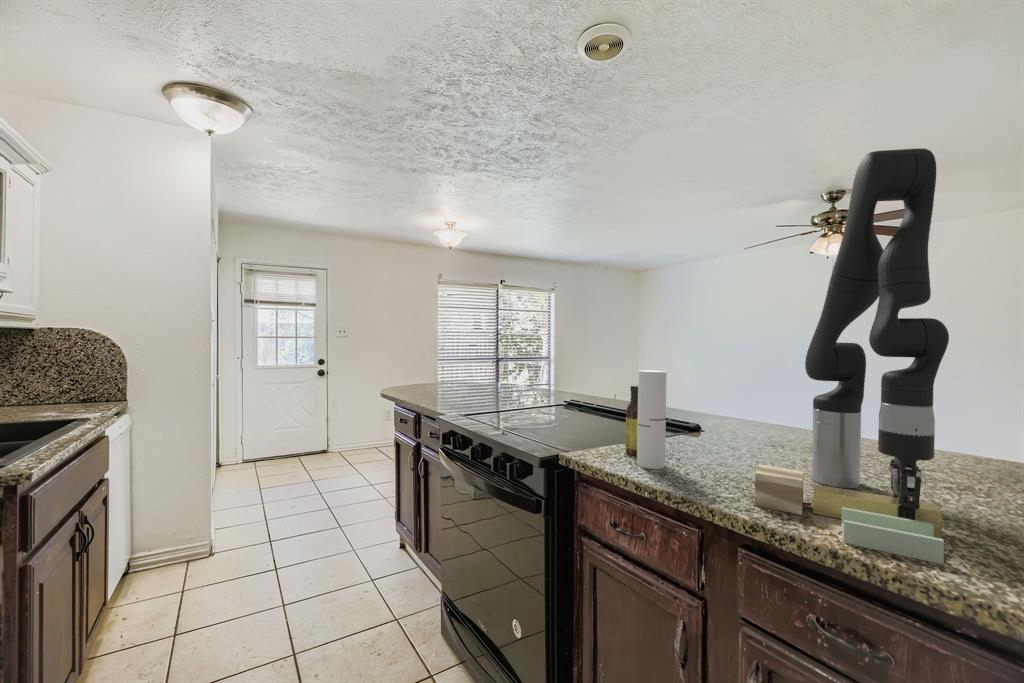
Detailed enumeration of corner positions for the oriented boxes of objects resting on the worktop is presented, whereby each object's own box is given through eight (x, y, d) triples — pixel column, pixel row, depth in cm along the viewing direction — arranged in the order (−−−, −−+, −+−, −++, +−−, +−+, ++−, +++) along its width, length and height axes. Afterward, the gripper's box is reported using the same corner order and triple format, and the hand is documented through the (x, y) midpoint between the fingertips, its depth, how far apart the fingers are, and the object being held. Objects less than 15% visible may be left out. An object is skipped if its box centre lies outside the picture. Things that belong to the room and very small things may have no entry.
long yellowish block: (813, 506, 89) (813, 484, 89) (935, 529, 79) (936, 504, 79) (813, 513, 85) (813, 490, 85) (941, 538, 75) (942, 512, 75)
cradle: (841, 526, 80) (841, 507, 80) (932, 544, 73) (932, 523, 73) (843, 542, 73) (844, 521, 73) (943, 564, 66) (944, 541, 66)
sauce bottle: (643, 458, 125) (645, 387, 125) (622, 454, 128) (623, 386, 128) (650, 453, 130) (651, 385, 130) (629, 450, 133) (630, 384, 133)
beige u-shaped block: (758, 494, 96) (759, 464, 96) (802, 502, 91) (803, 470, 91) (754, 505, 89) (755, 473, 89) (801, 514, 85) (802, 480, 85)
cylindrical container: (666, 469, 113) (668, 372, 113) (638, 467, 115) (639, 371, 115) (663, 462, 120) (664, 370, 120) (635, 460, 122) (637, 369, 122)
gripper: (943, 439, 71) (941, 544, 71) (926, 425, 83) (924, 516, 83) (883, 433, 76) (881, 532, 76) (874, 421, 87) (873, 507, 87)
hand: (903, 523), depth 79 cm, fingers closed on long yellowish block, 4 cm apart
